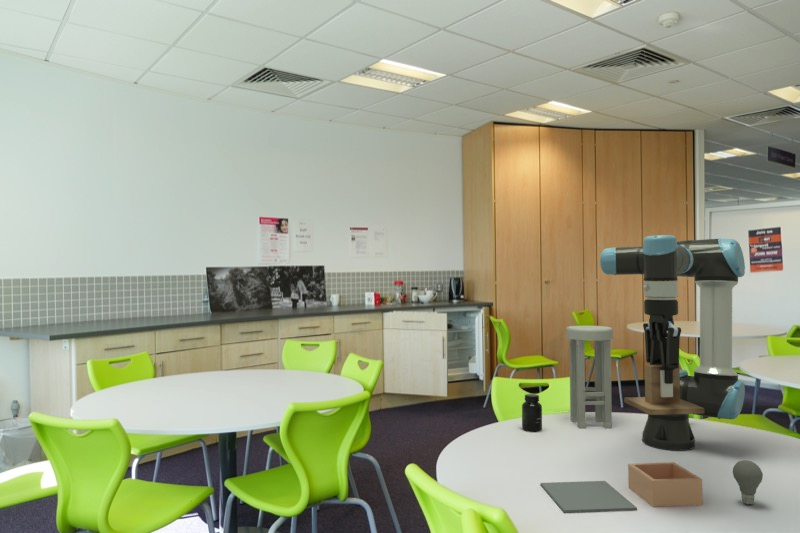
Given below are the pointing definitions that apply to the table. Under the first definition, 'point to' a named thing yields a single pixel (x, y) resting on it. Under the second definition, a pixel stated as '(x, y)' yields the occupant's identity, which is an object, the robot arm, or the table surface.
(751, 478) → the light bulb
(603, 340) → the stool
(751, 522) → the table surface
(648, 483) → the open tan tray
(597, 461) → the table surface
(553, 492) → the mat
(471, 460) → the table surface
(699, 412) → the lid
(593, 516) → the table surface
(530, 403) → the supplement bottle
